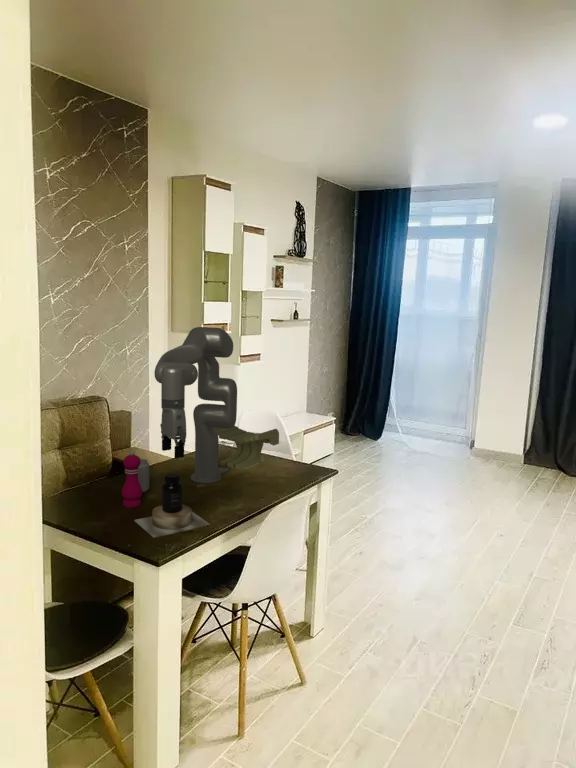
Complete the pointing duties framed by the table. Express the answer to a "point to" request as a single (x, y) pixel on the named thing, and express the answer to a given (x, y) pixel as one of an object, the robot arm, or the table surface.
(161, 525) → the pedestal
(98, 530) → the table surface
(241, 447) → the slatted curved stool
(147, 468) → the can
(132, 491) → the pepper mill
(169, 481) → the supplement bottle
